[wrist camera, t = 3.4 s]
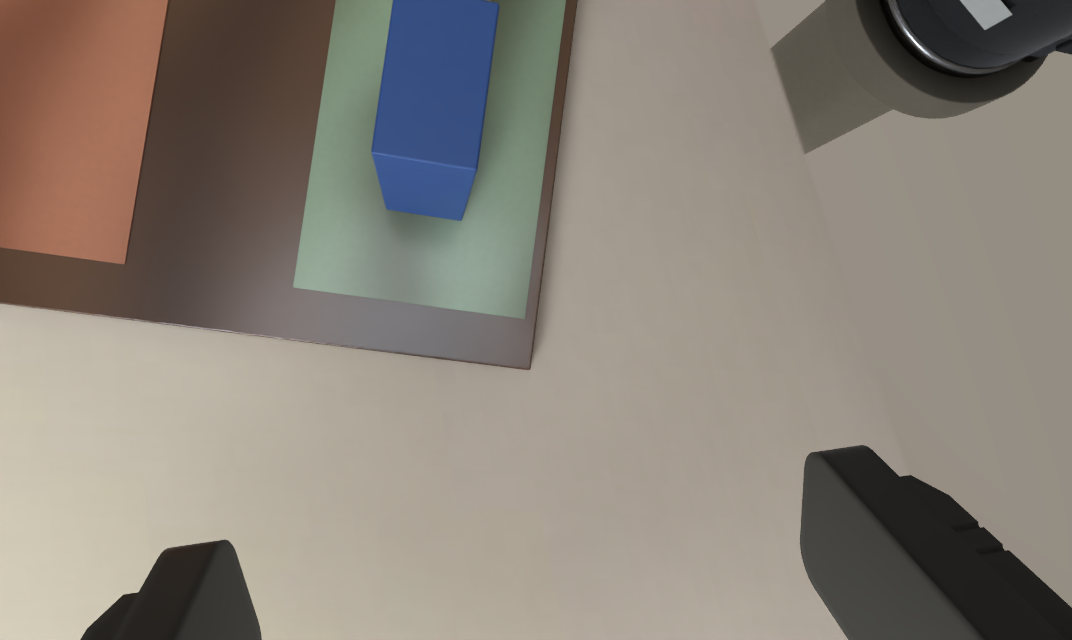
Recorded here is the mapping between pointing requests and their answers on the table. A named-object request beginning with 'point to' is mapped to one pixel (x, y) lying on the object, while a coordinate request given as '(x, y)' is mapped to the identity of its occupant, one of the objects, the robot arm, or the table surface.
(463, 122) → the blue rectangular block
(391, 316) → the brown flat rectangular board
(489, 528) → the table surface
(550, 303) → the table surface
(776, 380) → the table surface
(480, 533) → the table surface
